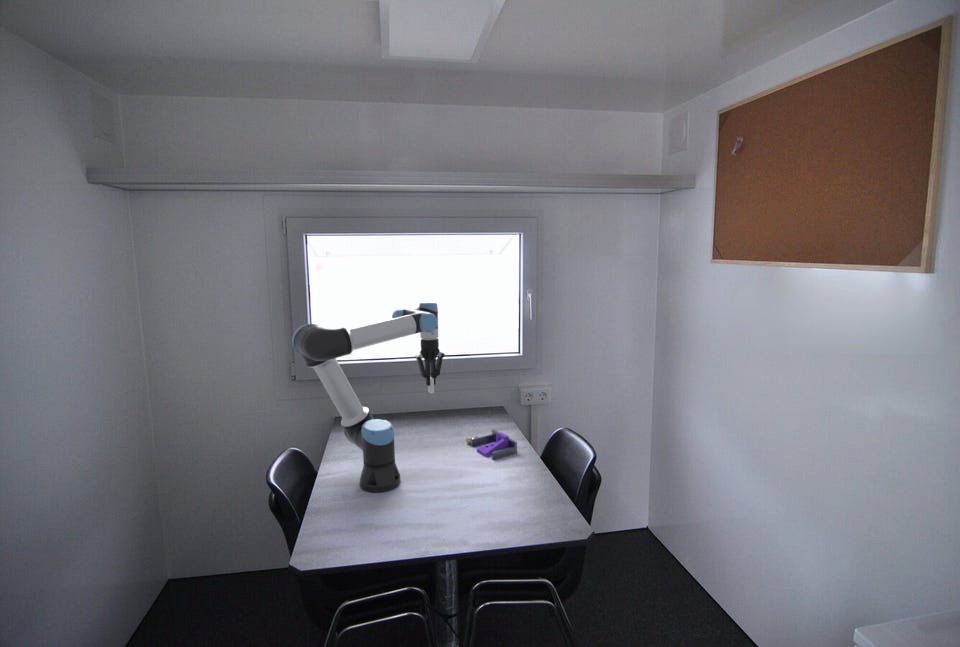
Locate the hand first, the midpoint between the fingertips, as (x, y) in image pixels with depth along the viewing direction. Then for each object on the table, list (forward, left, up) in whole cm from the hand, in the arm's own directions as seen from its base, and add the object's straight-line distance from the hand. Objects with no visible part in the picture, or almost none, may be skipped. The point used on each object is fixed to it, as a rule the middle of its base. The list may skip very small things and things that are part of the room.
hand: (431, 392), depth 218 cm
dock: (+22, -13, -26) cm, 37 cm away
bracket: (+22, -14, -27) cm, 37 cm away
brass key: (+20, -1, -26) cm, 33 cm away
